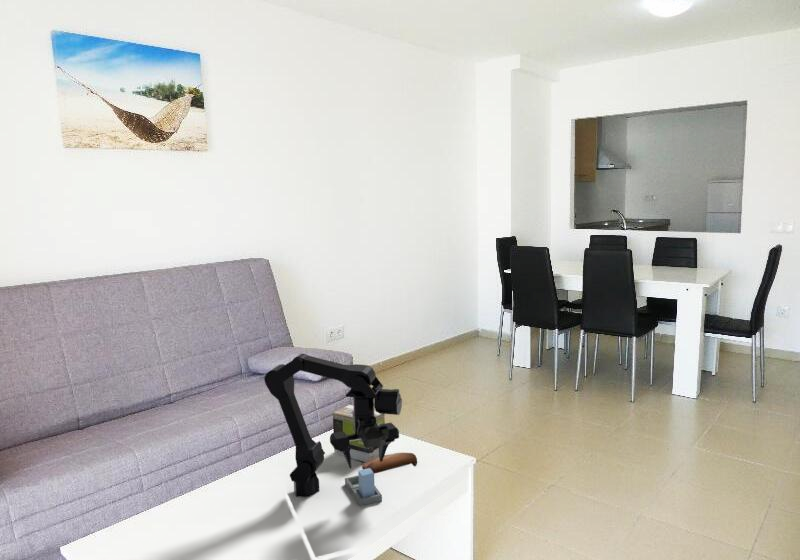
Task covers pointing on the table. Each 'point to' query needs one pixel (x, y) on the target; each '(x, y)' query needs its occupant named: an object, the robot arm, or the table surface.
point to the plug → (366, 483)
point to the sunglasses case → (390, 462)
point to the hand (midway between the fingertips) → (365, 464)
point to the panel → (355, 492)
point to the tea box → (345, 423)
